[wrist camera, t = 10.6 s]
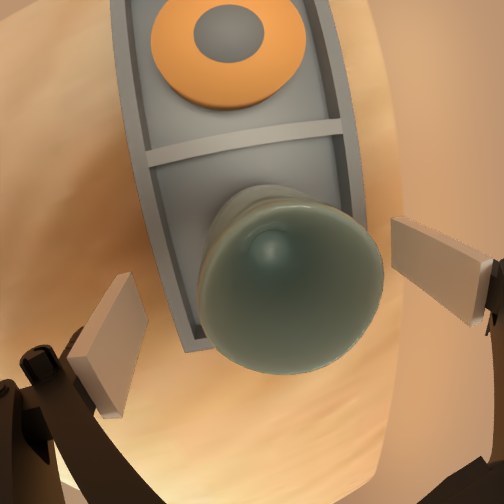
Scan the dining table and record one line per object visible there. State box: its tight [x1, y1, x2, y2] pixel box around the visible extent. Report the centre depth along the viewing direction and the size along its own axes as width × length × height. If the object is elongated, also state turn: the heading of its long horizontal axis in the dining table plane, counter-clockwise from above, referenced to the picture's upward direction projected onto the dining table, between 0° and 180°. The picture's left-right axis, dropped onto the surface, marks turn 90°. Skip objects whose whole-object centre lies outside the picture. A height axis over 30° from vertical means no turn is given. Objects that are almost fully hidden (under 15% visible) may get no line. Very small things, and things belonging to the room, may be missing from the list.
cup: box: [197, 184, 384, 375], centre depth 17 cm, size 8×8×10 cm
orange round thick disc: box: [151, 0, 306, 111], centre depth 16 cm, size 9×9×3 cm
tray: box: [110, 0, 367, 353], centre depth 19 cm, size 27×14×2 cm, turn 10°
